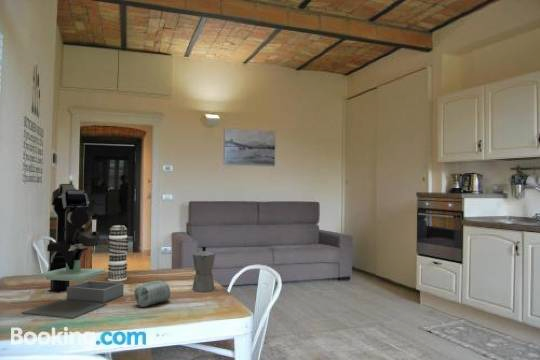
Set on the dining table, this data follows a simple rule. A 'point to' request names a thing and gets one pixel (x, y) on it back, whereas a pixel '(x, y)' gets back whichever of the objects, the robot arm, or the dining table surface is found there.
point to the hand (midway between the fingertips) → (72, 269)
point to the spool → (152, 293)
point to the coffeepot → (203, 271)
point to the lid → (72, 273)
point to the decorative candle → (117, 253)
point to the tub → (95, 291)
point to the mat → (64, 309)
